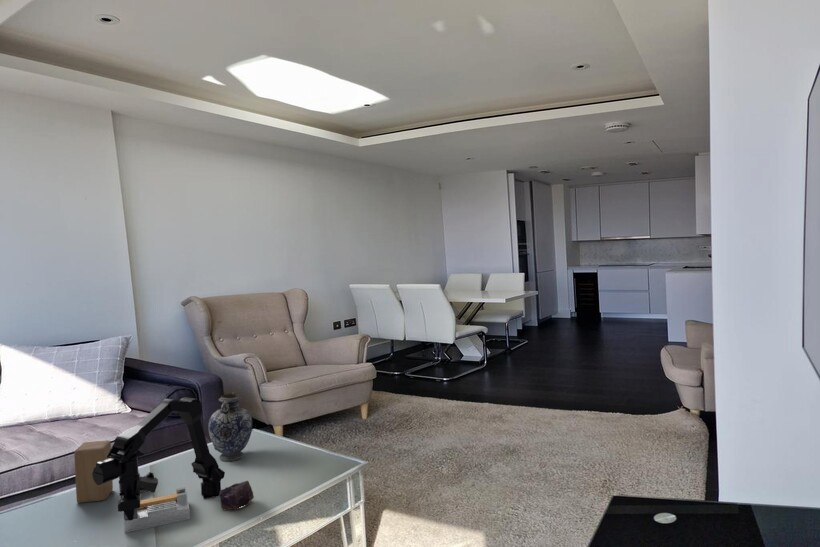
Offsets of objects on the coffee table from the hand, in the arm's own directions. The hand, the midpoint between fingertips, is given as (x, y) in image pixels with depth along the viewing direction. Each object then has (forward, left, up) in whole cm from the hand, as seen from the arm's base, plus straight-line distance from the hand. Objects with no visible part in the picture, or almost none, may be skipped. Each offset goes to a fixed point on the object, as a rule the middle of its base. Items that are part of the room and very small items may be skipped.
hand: (130, 519), depth 182 cm
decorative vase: (-39, -55, -5) cm, 68 cm away
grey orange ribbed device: (-8, -9, -5) cm, 13 cm away
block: (+13, -38, -5) cm, 41 cm away
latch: (0, -6, -1) cm, 6 cm away
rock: (-34, -4, -5) cm, 35 cm away
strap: (-7, -11, -1) cm, 13 cm away
